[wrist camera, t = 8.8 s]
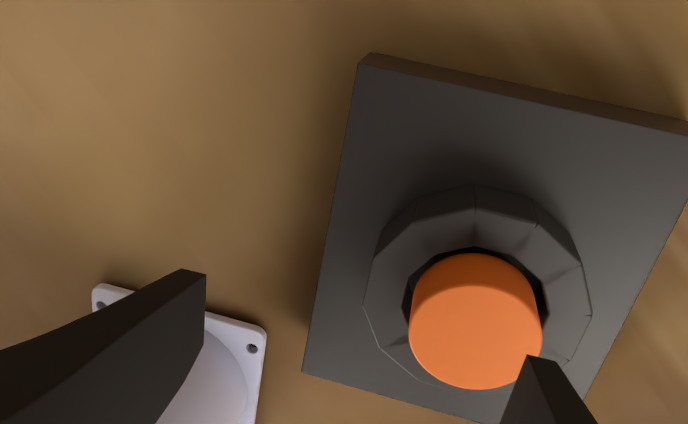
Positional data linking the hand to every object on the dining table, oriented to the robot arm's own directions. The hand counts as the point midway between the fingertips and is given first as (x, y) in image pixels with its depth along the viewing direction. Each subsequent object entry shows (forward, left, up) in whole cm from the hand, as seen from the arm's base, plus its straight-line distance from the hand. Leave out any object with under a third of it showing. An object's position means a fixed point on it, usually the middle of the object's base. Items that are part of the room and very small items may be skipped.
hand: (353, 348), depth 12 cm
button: (-1, -3, -5) cm, 6 cm away
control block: (-1, -3, -8) cm, 9 cm away
